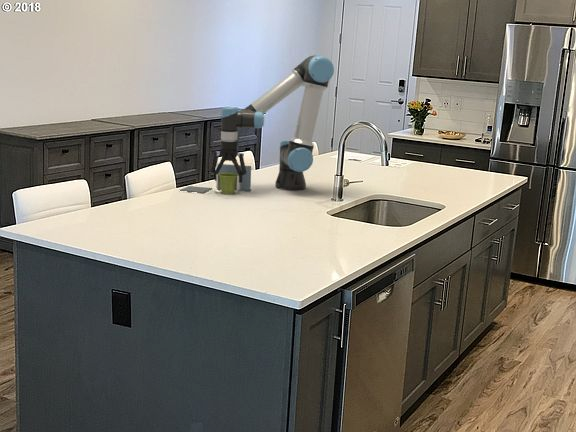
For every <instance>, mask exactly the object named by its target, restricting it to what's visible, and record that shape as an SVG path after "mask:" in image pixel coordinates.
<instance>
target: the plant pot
mask: <svg viewBox="0 0 576 432" xmlns="http://www.w3.org/2000/svg"><path fill="white" fill-rule="evenodd" d="M218 175H219V178H220V184H221V190H220V191H221V193H222V194H224V195H230V194H231V195H233V194H235V192H236V191H235V187H236V181H237V176H238V174H233V173H221V174H218Z"/></svg>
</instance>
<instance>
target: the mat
mask: <svg viewBox="0 0 576 432" xmlns="http://www.w3.org/2000/svg"><path fill="white" fill-rule="evenodd" d="M211 189H212V190H213V187H204V186H193V185H187V186H186V187H183V188H180V189H179V190H180V191H187V192H186V193H192V192H197V193H196V194H206V193H207V191H208V192H209V190H210V191H212V190H211ZM180 191H179V192H180Z"/></svg>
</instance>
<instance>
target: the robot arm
mask: <svg viewBox="0 0 576 432" xmlns="http://www.w3.org/2000/svg"><path fill="white" fill-rule="evenodd" d="M334 72H335V68H334V64H333V62H332V61H331V59H329V58H328V57H326V56H324V55H310V56H308V57H306V58H305V59H304V60H302V62H300V63H299V64H298V65H297V66H295V67H294V68H292V72H291V73H290V74H289V75H288V76H286V77H284V78H283V79H282V80H281V81H279V82H278V83H277V84H275V85H274V86H273V87H271V88H270V89H269V90H268V91H266V92H265V93H263V94H262V95H261V96H259V97H258V98H257V99H256V100H254V101H252V103H250V104H249V105H247V106H246V107H245V108H241V109H240V110H239V108H238V106H230V105H229V106H228V105H227V106H223V107H222V109H221V116H220V117H221V119H220V120H221V122H220V123H221V124H220V125H221V126H220V127H221V128H220V129H221V130H220V151H218V150H217V151H214V153H213V160H212V165H211V169H210V173H211V174H212V173H213V174H214V181H215V183H216V186H215V187H216V188H215V189H217V188H220V178H219V175H218V173H219V171H220V169H221V167H222V165H223V164H225V162H226V161H227V162H228V161H229V162H231V163H232V165H234V166H235V168H236V170H237V172H238V176H237V190H239V189H240V183H242V176H243V175H245V174H246V168H245V166H246V164H245V160H244V155H245V153H243V152H242V153H240V152H238V141H237V140H238V132H239V131H238V130H239V129H240V128H241V129H245V128H246V129H262V128H263V127H264V126H265V125H264V124H265V115H264V114H266V113H267V112H269V111H270V110H271V109H272V108H274V107H275V106H276V105H278V104H280V102H282V101H283V100H285V99H286V98H287V97H288V96H290V95H292V93H294V92H295V91H296V90H298V89H299V88H300V87H302V86H303V87H304V89H303V90H304V91H303V95H302V100H301V104H300V109H299V113H298V116H297V121H296V123H297V124H296V125H295V130H294V134H293V137H291V139H289V140H282V141H280V144H279V165H278V167H279V168H278V169H279V170H278V174H277V177H276V180H275V184H274V188H276V189H278V190H285V191H300V190H306V188H307V182H306V179H305V178H306V177H305V176H304V172H305V171H307V170H309V169H310V168H311V166H312V165H313V163H314V155H313V150H314V148H315V145H314V143H313V137H314V132H315V128H316V124H317V119H318V116H319V112H320V106H321V103H322V98H323V93H324V91H325V90H327V89H328V87H329V82H330V80H331V79H332V77H333V76H334ZM219 156H221V158H220V161H219V163H218V160H219ZM237 157H238V159H239V163H240V164H239V163H238V160H237ZM218 164H219V165H218ZM239 165H241V169H242V171H241V169H240V167H239Z"/></svg>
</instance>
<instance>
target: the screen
mask: <svg viewBox="0 0 576 432" xmlns="http://www.w3.org/2000/svg"><path fill="white" fill-rule="evenodd" d="M218 165H219V163H217V166H218ZM238 165H239V167H240V169H241V165H240V164H238ZM245 168H246V174H245V175H243V176H242V183H240V189H239V190H237V181H236V187H235V192H246V193H250V192H252V189H251V188H252V187H251V186H252V185H251V184H252V180H251V179H252V165H245ZM241 171H242V169H241ZM221 173H233V174H238V172H237V170H236V168H235V166H234V164H227V163H223V165H222V167H221V169H220V171H219V173H218V174H221ZM216 189H217V190H220V189H221V184H220V188H216Z"/></svg>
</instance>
